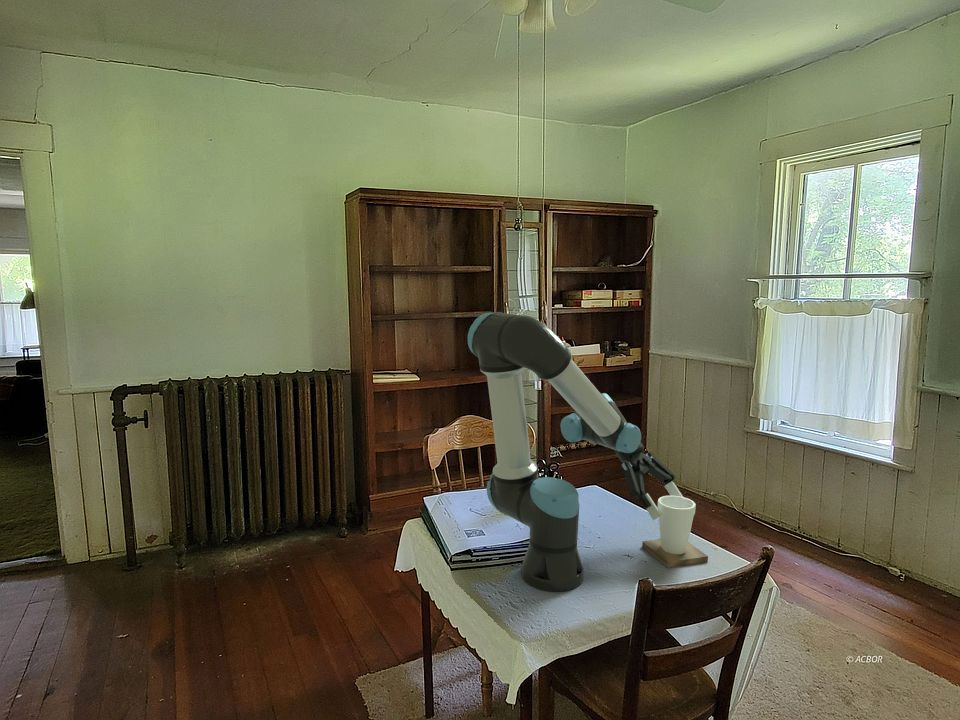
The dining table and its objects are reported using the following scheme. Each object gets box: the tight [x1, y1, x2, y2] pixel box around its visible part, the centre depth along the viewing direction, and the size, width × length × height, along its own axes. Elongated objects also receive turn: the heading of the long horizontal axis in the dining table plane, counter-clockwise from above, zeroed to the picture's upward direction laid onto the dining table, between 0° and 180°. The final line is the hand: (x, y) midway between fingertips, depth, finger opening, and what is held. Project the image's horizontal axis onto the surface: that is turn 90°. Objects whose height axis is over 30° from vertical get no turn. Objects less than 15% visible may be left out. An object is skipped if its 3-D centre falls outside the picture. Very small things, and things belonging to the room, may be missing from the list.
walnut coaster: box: [641, 538, 709, 569], centre depth 160 cm, size 12×12×2 cm
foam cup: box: [657, 495, 697, 554], centre depth 159 cm, size 10×9×13 cm
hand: (670, 510), depth 161 cm, fingers open, 13 cm apart
